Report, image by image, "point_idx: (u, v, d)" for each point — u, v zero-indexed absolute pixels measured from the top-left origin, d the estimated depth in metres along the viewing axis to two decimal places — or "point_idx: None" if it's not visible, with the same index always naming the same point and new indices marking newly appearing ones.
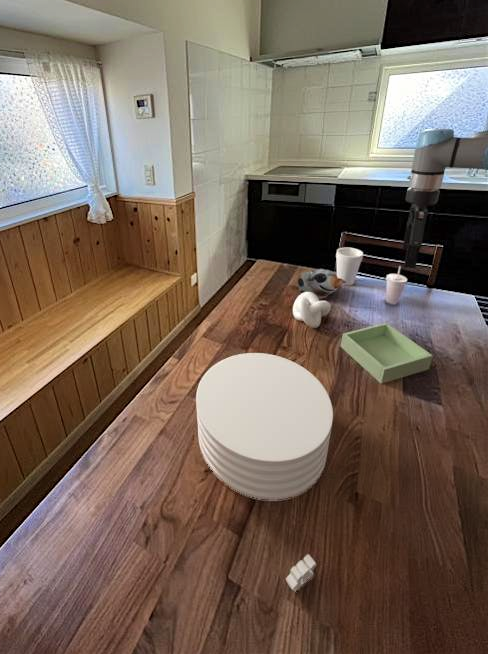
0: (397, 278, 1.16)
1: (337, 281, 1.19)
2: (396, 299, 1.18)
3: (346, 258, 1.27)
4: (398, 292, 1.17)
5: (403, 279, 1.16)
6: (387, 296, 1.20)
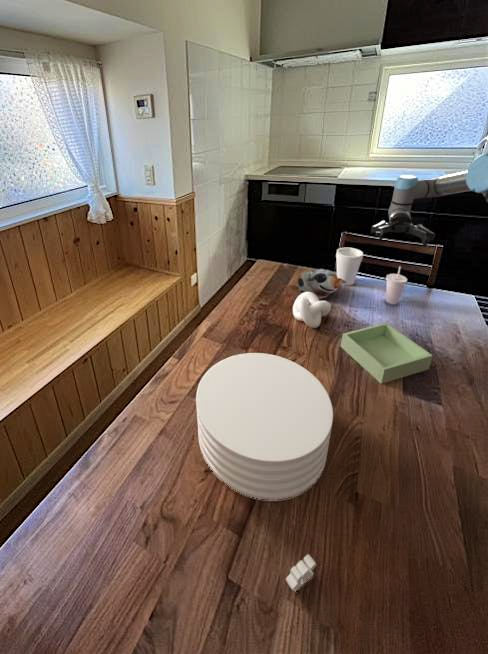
0: (397, 278, 1.16)
1: (337, 281, 1.19)
2: (396, 299, 1.18)
3: (346, 258, 1.27)
4: (398, 292, 1.17)
5: (403, 279, 1.16)
6: (387, 296, 1.20)
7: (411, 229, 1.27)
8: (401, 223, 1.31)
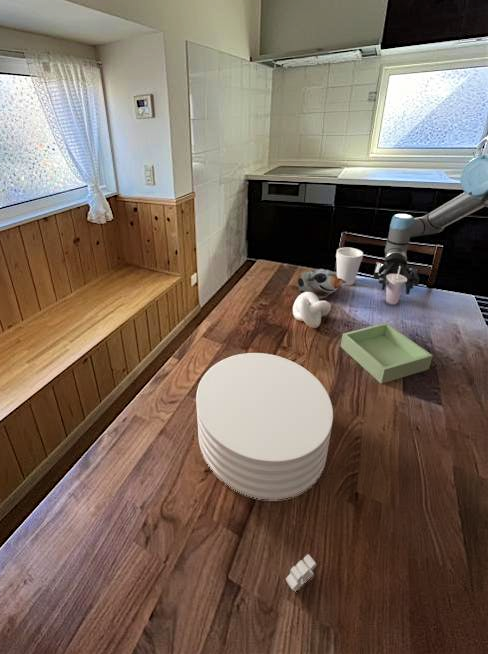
0: (397, 278, 1.16)
1: (337, 281, 1.19)
2: (396, 299, 1.18)
3: (346, 258, 1.27)
4: (398, 292, 1.17)
5: (403, 279, 1.16)
6: (387, 296, 1.20)
7: (402, 272, 1.23)
8: (396, 265, 1.26)
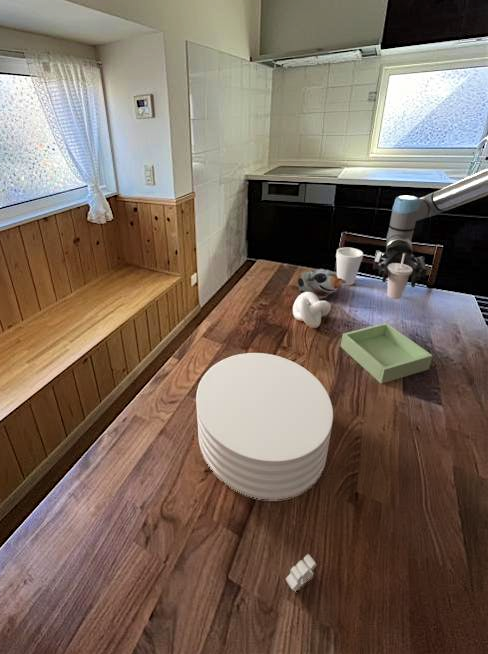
0: (400, 268, 0.98)
1: (337, 281, 1.19)
2: (399, 293, 1.00)
3: (346, 258, 1.27)
4: (402, 285, 0.98)
5: (408, 269, 0.97)
6: (389, 289, 1.01)
7: (406, 261, 1.04)
8: (399, 253, 1.08)
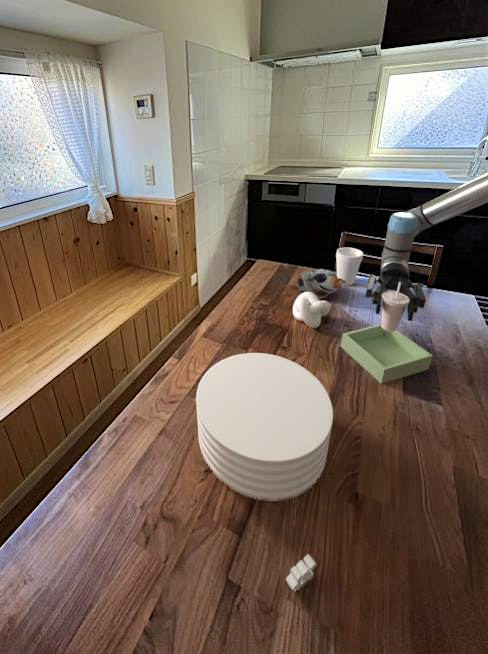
0: (396, 298, 0.87)
1: (337, 281, 1.19)
2: (395, 325, 0.89)
3: (346, 258, 1.27)
4: (398, 317, 0.88)
5: (404, 299, 0.87)
6: (383, 321, 0.91)
7: (402, 289, 0.94)
8: (395, 279, 0.97)
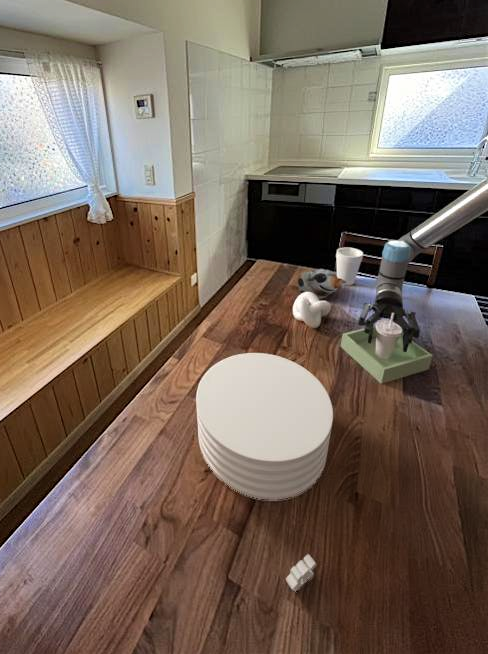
0: (389, 328, 0.91)
1: (337, 281, 1.19)
2: (388, 354, 0.93)
3: (346, 258, 1.27)
4: (391, 346, 0.91)
5: (397, 330, 0.90)
6: (377, 349, 0.94)
7: (396, 318, 0.97)
8: (389, 307, 1.01)
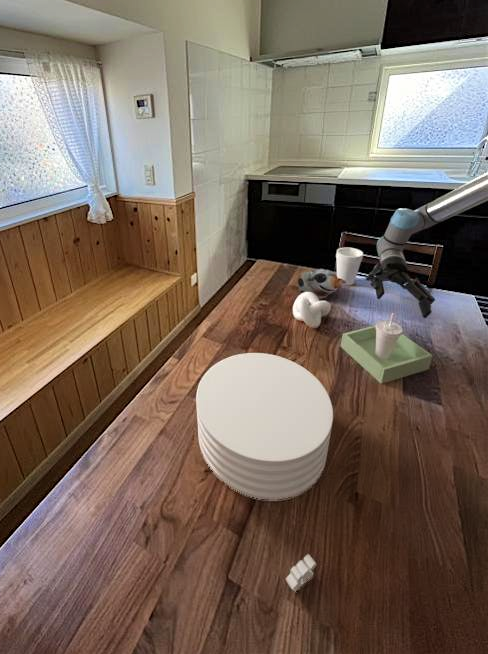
0: (389, 328, 0.91)
1: (337, 281, 1.19)
2: (388, 354, 0.93)
3: (346, 258, 1.27)
4: (391, 346, 0.91)
5: (397, 330, 0.90)
6: (377, 349, 0.94)
7: (408, 285, 1.06)
8: (398, 272, 1.09)
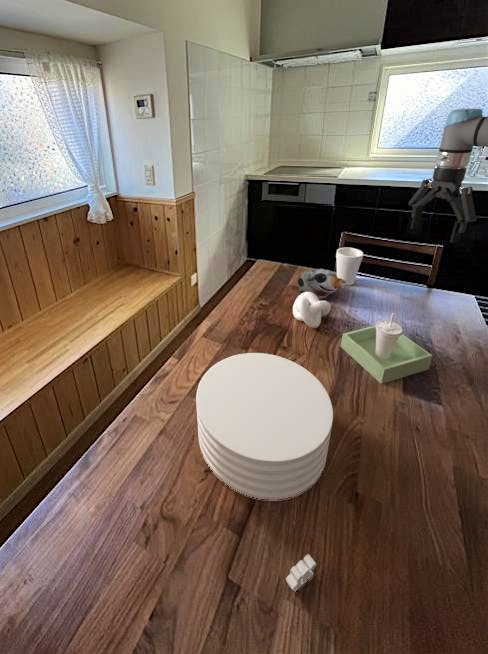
0: (389, 328, 0.91)
1: (337, 281, 1.19)
2: (388, 354, 0.93)
3: (346, 258, 1.27)
4: (391, 346, 0.91)
5: (397, 330, 0.90)
6: (377, 349, 0.94)
7: (433, 196, 1.05)
8: None
